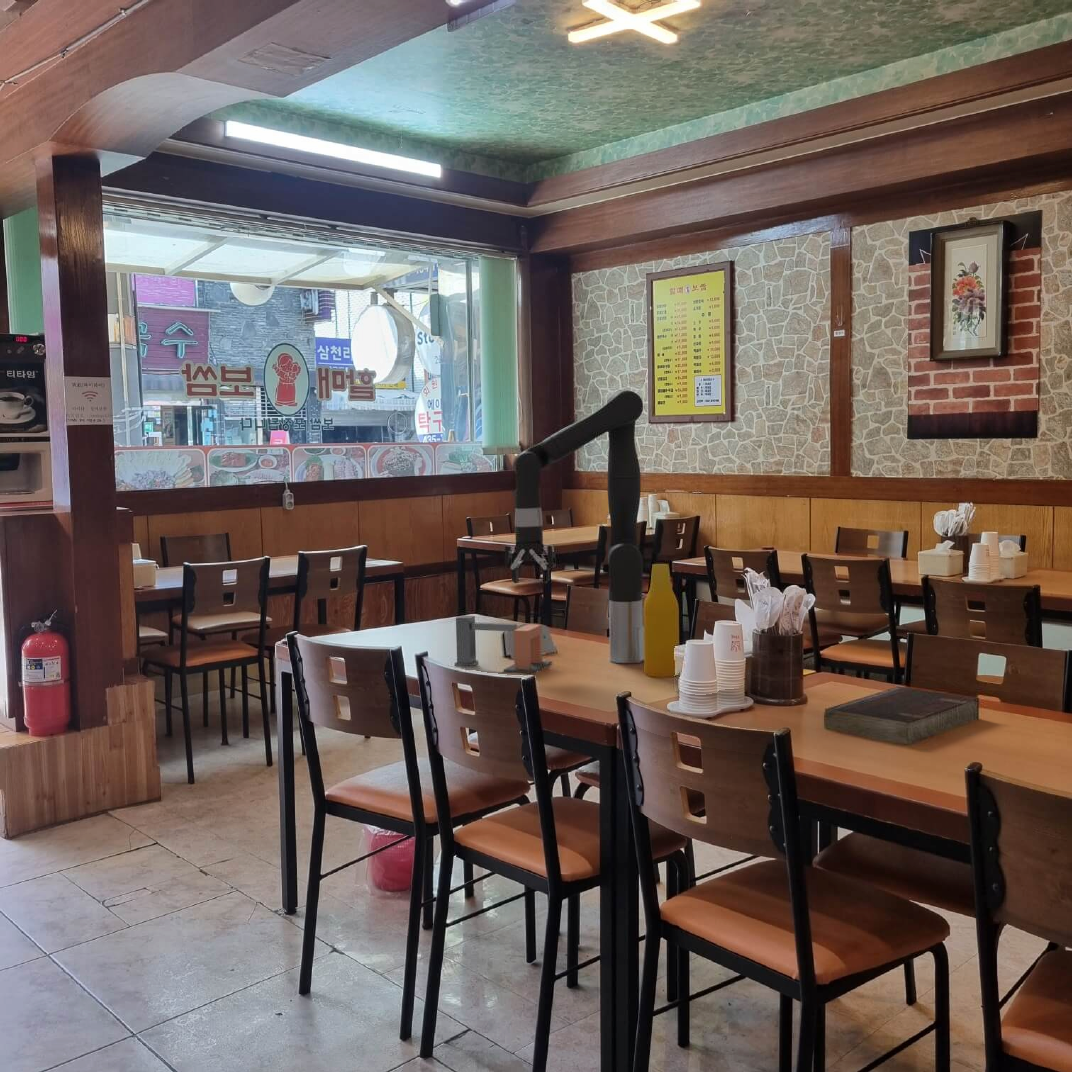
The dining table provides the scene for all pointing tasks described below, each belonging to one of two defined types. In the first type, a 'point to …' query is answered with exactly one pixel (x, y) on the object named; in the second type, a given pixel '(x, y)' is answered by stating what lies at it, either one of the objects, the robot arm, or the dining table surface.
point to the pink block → (527, 646)
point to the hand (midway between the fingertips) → (530, 583)
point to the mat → (534, 669)
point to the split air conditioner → (508, 641)
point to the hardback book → (902, 715)
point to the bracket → (473, 637)
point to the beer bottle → (660, 625)
